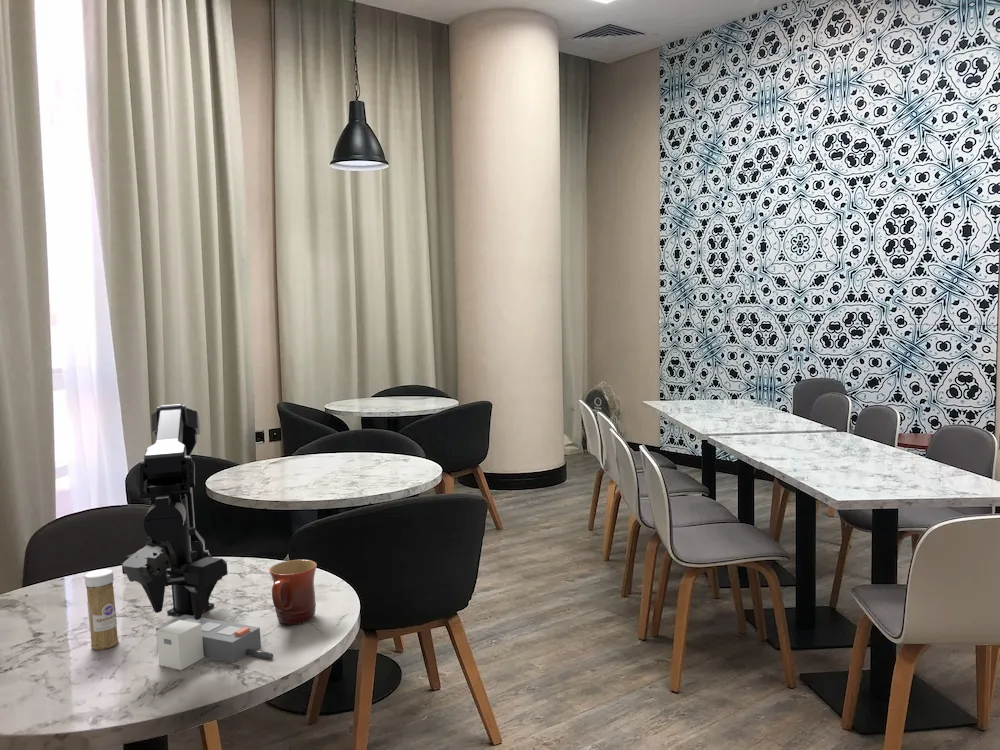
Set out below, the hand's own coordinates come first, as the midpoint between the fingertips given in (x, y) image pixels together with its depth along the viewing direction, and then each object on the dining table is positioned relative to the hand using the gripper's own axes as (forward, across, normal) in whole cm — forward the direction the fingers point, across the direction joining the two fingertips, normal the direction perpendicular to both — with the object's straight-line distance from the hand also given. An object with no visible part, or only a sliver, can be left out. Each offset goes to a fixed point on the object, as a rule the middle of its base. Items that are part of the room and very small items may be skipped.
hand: (178, 615), depth 134 cm
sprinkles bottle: (+8, -19, 0) cm, 21 cm away
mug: (+8, +7, +20) cm, 23 cm away
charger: (+8, 0, +1) cm, 8 cm away
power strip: (+8, +3, +6) cm, 10 cm away
